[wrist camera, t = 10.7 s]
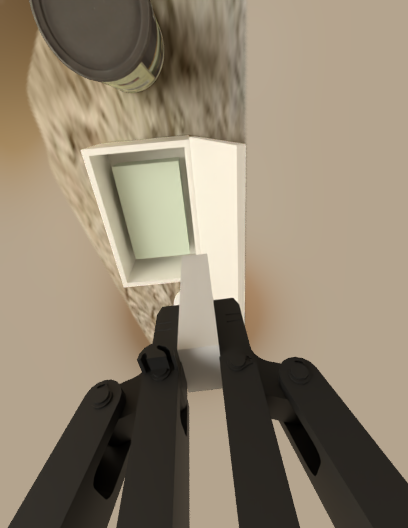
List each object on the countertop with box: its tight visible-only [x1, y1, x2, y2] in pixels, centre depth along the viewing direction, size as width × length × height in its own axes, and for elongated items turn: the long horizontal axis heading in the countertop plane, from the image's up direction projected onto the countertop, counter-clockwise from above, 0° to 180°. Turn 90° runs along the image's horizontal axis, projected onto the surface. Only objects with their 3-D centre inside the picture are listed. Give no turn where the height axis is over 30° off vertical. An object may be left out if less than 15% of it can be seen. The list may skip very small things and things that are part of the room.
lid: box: [189, 136, 246, 325], centre depth 31 cm, size 14×23×1 cm
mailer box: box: [81, 135, 201, 287], centre depth 41 cm, size 14×22×9 cm, turn 5°
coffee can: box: [29, 0, 164, 93], centre depth 27 cm, size 10×10×14 cm
